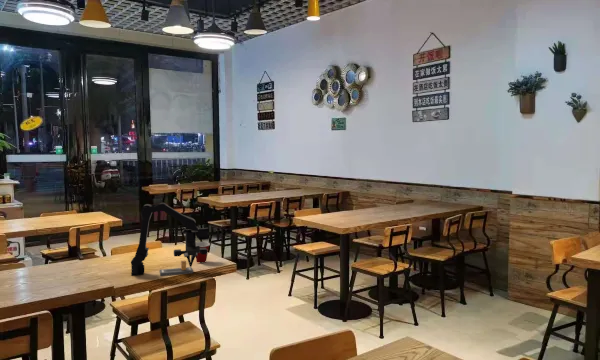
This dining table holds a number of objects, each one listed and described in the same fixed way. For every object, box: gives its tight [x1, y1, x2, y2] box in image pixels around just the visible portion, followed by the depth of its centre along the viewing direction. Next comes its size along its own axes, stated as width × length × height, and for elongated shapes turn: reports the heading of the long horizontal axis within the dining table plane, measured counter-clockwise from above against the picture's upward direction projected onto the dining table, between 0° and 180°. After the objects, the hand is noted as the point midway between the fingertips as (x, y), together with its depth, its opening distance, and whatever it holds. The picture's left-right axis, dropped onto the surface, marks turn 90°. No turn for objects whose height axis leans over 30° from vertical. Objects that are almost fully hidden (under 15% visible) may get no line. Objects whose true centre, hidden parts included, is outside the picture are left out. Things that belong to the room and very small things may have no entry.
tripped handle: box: [180, 260, 187, 270], centre depth 256 cm, size 2×4×4 cm, turn 20°
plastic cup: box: [195, 241, 211, 263], centre depth 279 cm, size 11×11×12 cm
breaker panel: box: [159, 266, 194, 277], centre depth 255 cm, size 18×8×2 cm, turn 110°
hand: (190, 266), depth 257 cm, fingers closed
